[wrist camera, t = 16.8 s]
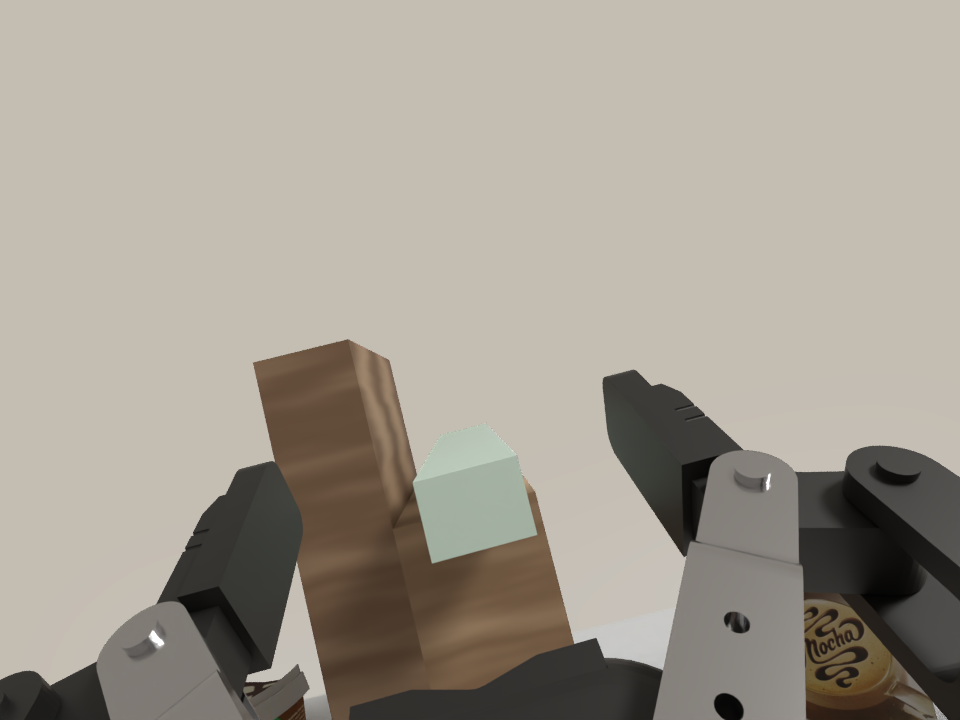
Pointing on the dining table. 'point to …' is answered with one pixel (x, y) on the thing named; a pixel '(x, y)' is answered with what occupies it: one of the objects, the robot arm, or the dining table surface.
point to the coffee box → (854, 668)
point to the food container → (279, 697)
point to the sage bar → (472, 494)
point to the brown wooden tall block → (392, 544)
